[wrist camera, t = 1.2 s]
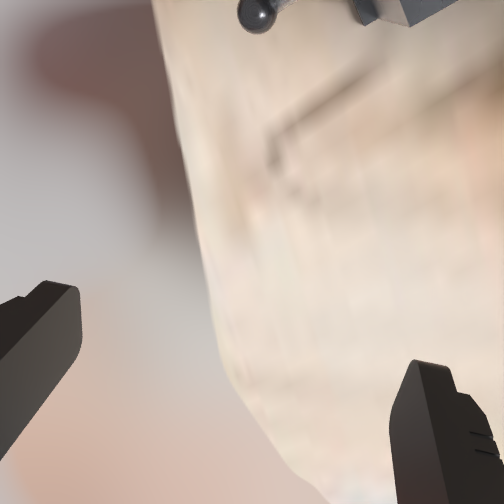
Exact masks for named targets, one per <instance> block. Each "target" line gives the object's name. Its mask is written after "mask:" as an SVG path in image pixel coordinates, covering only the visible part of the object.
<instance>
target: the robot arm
mask: <svg viewBox="0 0 504 504" xmlns="http://www.w3.org/2000/svg"><path fill="white" fill-rule="evenodd" d="M81 344H82V321H81V305H80V293H79V290H78V288H77V287H75V286H71V285H66V284H61V283H56V282H52V281H47V280H46V281H43V282H41V283H40V284H39V285H38V286H37V287H35V288H34V289H33V290H32V291H31V292H30V293H29V294H28V295H27V296H26V297H20V296H17V297H15V298H13V299H11V300H9V301H7V302H5V303H3V304H1V305H0V461H1V459H2V458H3V456H4V455H5V454H6V453H7V451H8V450H9V448H10V447H11V446H12V444H13V443H14V442H15V440H16V439H17V438H18V436H19V435H20V434H21V432H22V431H23V429H24V428H25V427H26V426H27V424H28V423H29V421H30V420H31V419H32V418H33V416H34V415H35V414H36V412H37V411H38V410H39V408H40V407H41V406H42V404H43V403H44V401H45V400H46V399H47V397H48V396H49V395H50V393H51V392H52V391H53V389H54V388H55V386H56V385H57V384H58V383H59V381H60V380H61V378H62V377H63V376H64V375H65V373H66V372H67V370H68V369H69V368H70V367H71V365H72V364H73V363H74V361H75V359H76V358H77V356H78V353H79V351H80V348H81ZM389 435H390V444H391V452H392V461H393V469H394V477H395V486H396V494H397V503H398V504H504V464H503V462H502V459H500V453H499V451H498V448H497V445H496V442H495V441H493V434H492V431H491V428H490V426H489V423H488V420H487V417H486V415H485V414H484V412H483V411H482V410H481V409H480V407H479V406H478V405H477V404H476V402H475V401H474V400H473V399H472V397H471V396H470V395H468V394H464V393H459V392H457V390H456V387H455V384H454V380H453V377H452V374H451V371H450V369H449V368H448V367H447V366H443V365H438V364H433V363H429V362H424V361H419V360H412V361H411V363H410V364H409V366H408V369H407V371H406V374H405V376H404V379H403V381H402V384H401V386H400V389H399V391H398V394H397V396H396V399H395V401H394V404H393V406H392V410H391V414H390V422H389Z"/></svg>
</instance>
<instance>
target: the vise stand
mask: <svg viewBox="0 0 504 504" xmlns="http://www.w3.org/2000/svg"><path fill="white" fill-rule="evenodd" d="M296 1H297V0H240V1H239V3H238V7H237V16H238V20H239V22H240V24H241V26H242V27H243V28H244V29H245V30H246V31H247V32H249V33H252V34H262V33H265V32H267V31H268V30H269V29H271V27H272V26H273V25H274V23H275V21H276V18H277V13H278V12H280V11H282V10H283V9H285V8H286V7H288V6H289V5H291V4H292V3H294V2H296ZM456 1H458V0H353V2H354V4H355V6H356V9H357V11H358V13H359V16H360V18H361V20H362V23H363V25H364V26H366V25H368V24H369V23H371V22H373V21H375V20H376V19H382V20H385V21H389V22H392V23H396V24H400V25H403V26H407V27H411V26H413V25H415V24H417V23H419V22H420V21H422V20H424V19H426V18H427V17H429V16H431V15H433V14H435V13H436V12H438V11H440V10H442V9H443V8H445V7H447V6H449V5H451V4H452V3H454V2H456Z"/></svg>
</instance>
